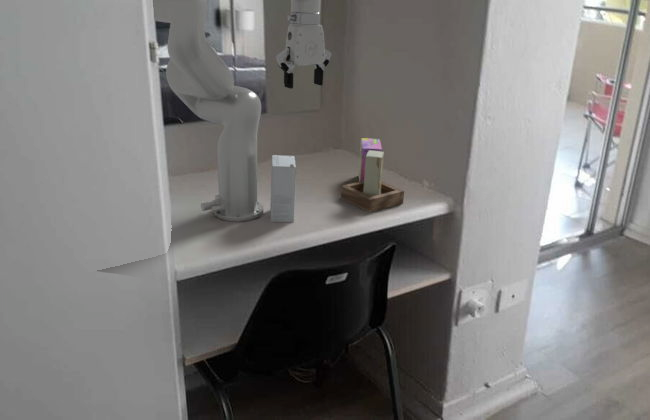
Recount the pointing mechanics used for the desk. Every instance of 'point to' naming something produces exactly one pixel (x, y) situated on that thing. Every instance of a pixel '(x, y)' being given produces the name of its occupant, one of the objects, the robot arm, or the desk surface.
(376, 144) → the box
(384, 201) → the shallow wooden tray
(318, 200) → the desk surface
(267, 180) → the desk surface
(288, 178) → the skincare box
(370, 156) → the skincare box
